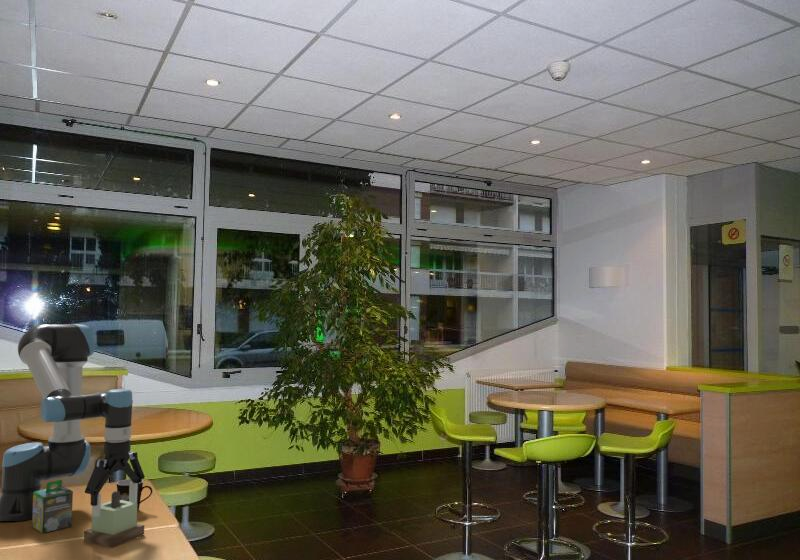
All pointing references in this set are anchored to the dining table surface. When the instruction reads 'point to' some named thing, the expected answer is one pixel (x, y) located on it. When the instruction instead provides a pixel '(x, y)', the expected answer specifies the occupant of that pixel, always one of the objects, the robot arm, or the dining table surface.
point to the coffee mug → (124, 491)
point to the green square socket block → (115, 518)
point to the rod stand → (116, 538)
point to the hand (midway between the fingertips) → (114, 509)
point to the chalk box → (52, 508)
